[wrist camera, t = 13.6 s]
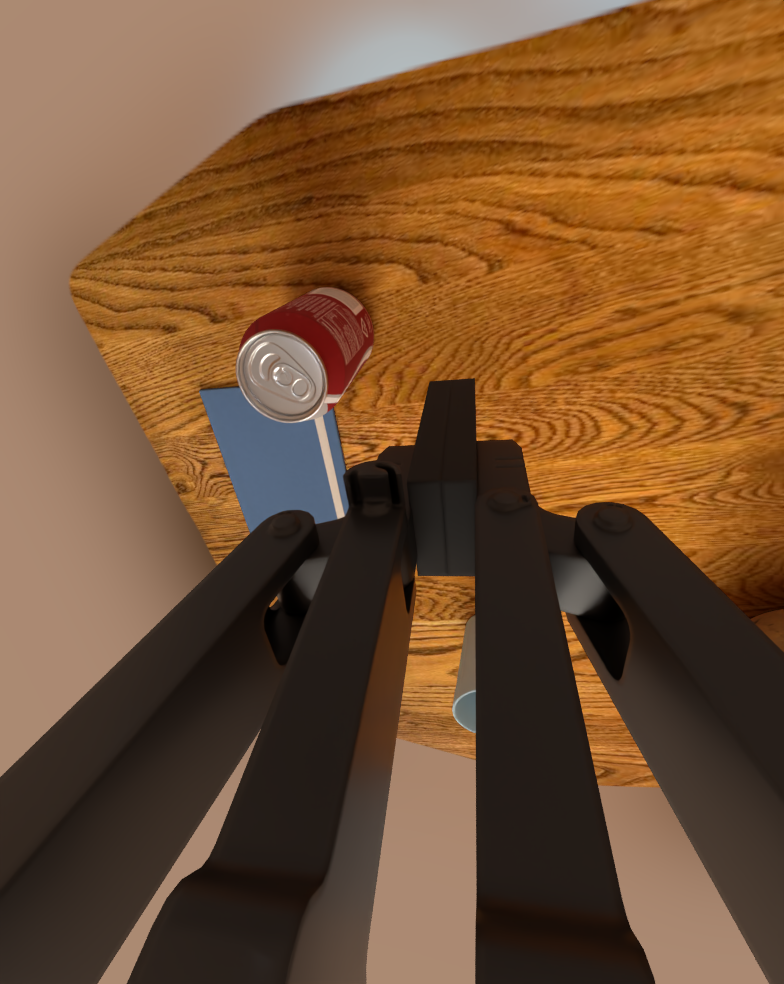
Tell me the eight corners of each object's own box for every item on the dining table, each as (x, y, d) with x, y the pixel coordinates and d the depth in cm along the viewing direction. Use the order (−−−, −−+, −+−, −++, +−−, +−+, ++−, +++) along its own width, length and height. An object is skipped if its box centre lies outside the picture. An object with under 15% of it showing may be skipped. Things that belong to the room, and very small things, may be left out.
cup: (507, 595, 48) (515, 681, 40) (536, 640, 51) (549, 730, 43) (444, 614, 51) (438, 698, 43) (475, 656, 54) (475, 743, 46)
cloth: (200, 389, 41) (198, 391, 40) (327, 378, 39) (326, 380, 38) (251, 531, 49) (249, 534, 49) (358, 530, 47) (357, 533, 46)
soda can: (318, 266, 34) (252, 291, 24) (392, 321, 35) (359, 367, 25) (279, 340, 37) (208, 390, 27) (348, 388, 39) (304, 452, 29)
